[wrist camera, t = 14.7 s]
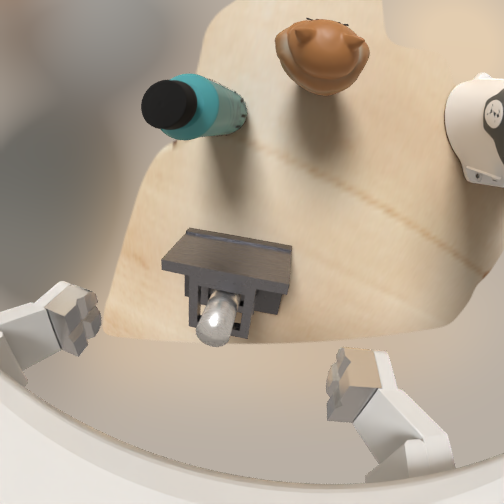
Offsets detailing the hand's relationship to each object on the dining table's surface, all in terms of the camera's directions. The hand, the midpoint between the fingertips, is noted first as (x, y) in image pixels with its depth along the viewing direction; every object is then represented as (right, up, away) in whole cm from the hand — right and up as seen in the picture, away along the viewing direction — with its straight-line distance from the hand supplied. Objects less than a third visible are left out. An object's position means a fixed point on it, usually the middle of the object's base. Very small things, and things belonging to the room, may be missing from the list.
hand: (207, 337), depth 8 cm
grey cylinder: (-1, -1, +36) cm, 36 cm away
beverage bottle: (-2, +22, +27) cm, 35 cm away
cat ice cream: (+10, +26, +23) cm, 36 cm away
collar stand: (-1, 0, +37) cm, 37 cm away
